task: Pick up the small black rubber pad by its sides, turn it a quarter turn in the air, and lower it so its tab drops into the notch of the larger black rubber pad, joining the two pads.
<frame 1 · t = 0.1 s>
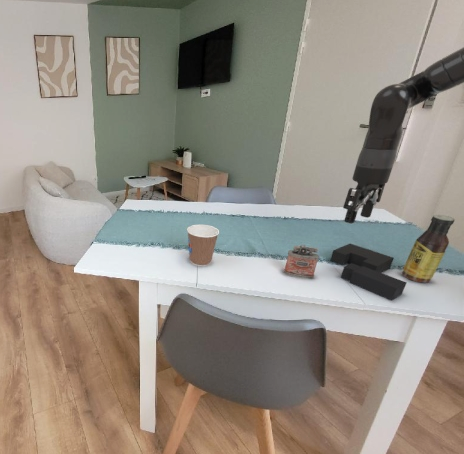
hand: (357, 219, 86), 18 cm above the table, tool pointing down, fingers open, 8 cm apart
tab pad: (374, 288, 83), on the table
sauce bottle: (415, 278, 87), on the table
lighter: (298, 275, 92), on the table
notch pad: (358, 264, 95), on the table
coffee cup: (200, 261, 102), on the table
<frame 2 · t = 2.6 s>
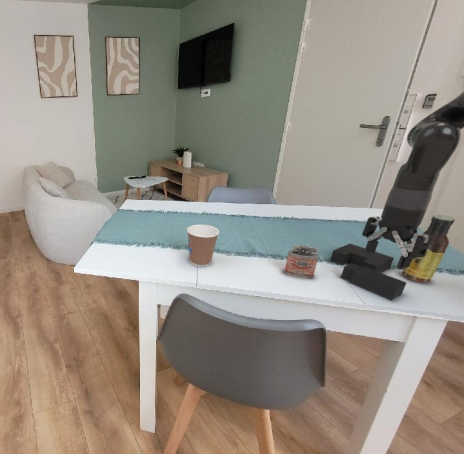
hand: (384, 260, 80), 9 cm above the table, tool pointing down, fingers open, 8 cm apart
nothing on the table moved.
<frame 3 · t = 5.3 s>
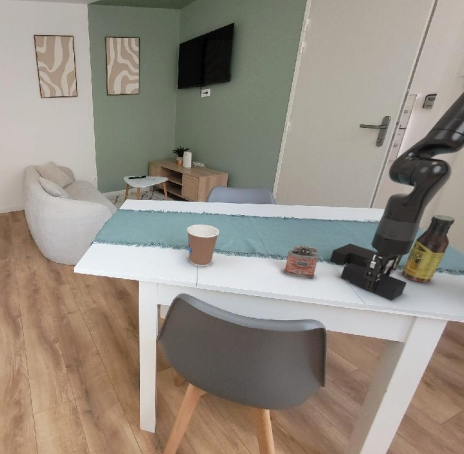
hand: (374, 286, 83), 1 cm above the table, tool pointing down, fingers closed on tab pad, 5 cm apart
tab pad: (374, 288, 83), on the table, touching gripper
everything else where it was.
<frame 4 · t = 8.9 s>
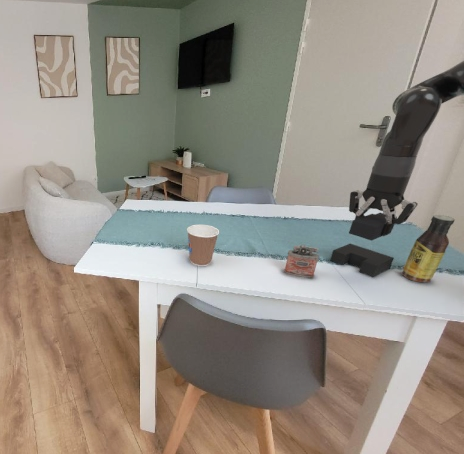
hand: (370, 231, 82), 16 cm above the table, tool pointing down, fingers closed on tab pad, 5 cm apart
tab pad: (369, 233, 82), point 15 cm above the table, touching gripper
everything else where it was.
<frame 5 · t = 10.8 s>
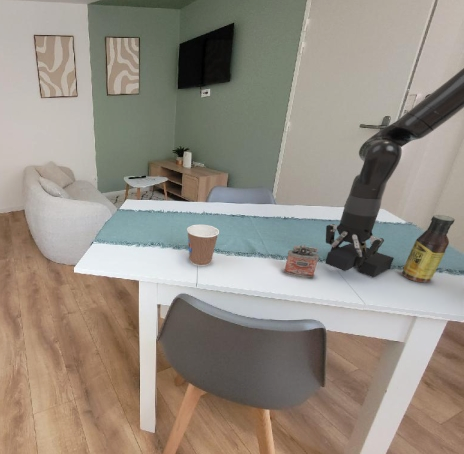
hand: (344, 261, 90), 4 cm above the table, tool pointing down, fingers closed on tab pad, 5 cm apart
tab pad: (344, 263, 90), point 4 cm above the table, touching gripper
everything else where it was.
when the fingers open (1 cm above the table, at t = 12.3 s): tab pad stays where it is, on the table.
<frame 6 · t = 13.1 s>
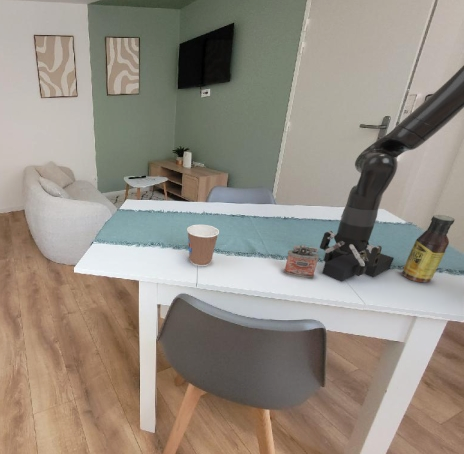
hand: (342, 268, 91), 2 cm above the table, tool pointing down, fingers open, 8 cm apart
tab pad: (340, 273, 91), on the table
everything else where it was.
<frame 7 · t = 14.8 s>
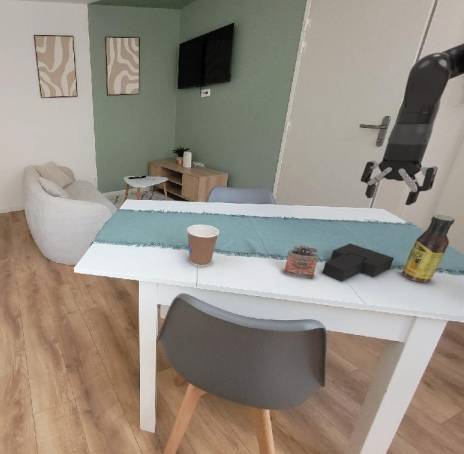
hand: (388, 201, 82), 24 cm above the table, tool pointing down, fingers open, 8 cm apart
nothing on the table moved.
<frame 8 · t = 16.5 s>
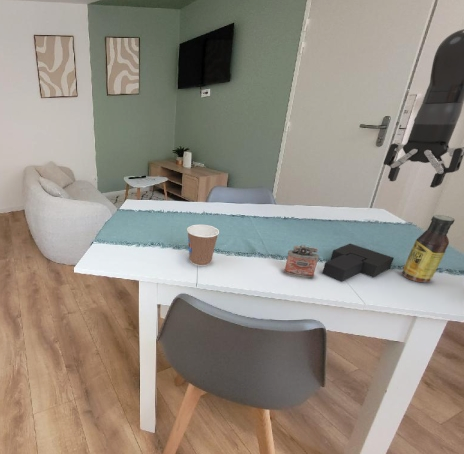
hand: (411, 183, 80), 28 cm above the table, tool pointing down, fingers open, 8 cm apart
nothing on the table moved.
at the end: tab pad 0.2 cm from the target spot on the table beside the notch pad, on the table; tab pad tilted 0°; notch pad moved 0.0 cm from its start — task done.
